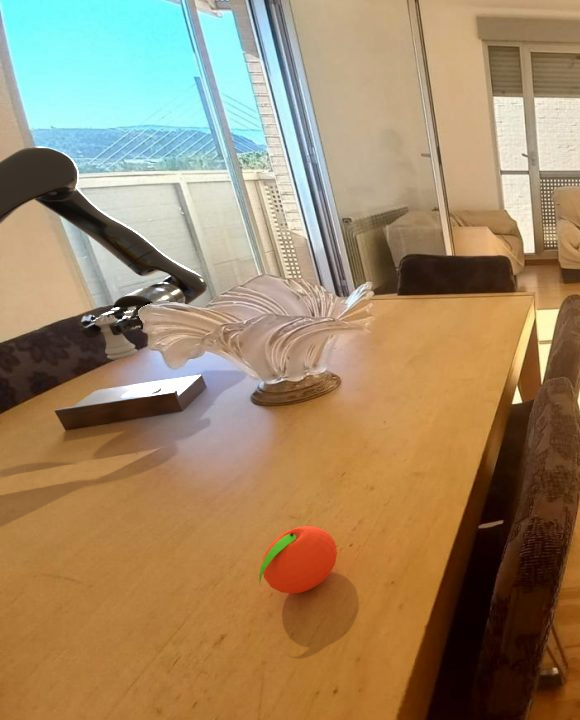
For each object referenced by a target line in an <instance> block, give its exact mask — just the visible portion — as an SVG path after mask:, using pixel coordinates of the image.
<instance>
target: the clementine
mask: <svg viewBox="0 0 580 720" xmlns="http://www.w3.org/2000/svg"><path fill="white" fill-rule="evenodd" d="M337 555H338V550H337V544H336V541H335V539H334V538H333V536H332V535H331V534H330V533H328V532H327V531H326V530H325V529H323V528H320V527H317V526H312V525H306V526H299V527H295V528H292V529H290V530H287V531H285V532H283V533H281V534H280V535H279V536H278V537H277V538H276V539H275V540H273V541H272V542H271V543H270V545H269V546H268V547H267V549H266V551H265V553H264V556H263V559H262V563H261V566H260V570H259V575H258V581H259V582H258V583H259V585H258V586H260V585H261V581H262V578H264V579H265V581H266V582H267V584H268V585H269V586H270V588H272V589H274V590H275V591H277V592H280V593H284V594H293V595H295V594H301V593H303V592H307V591H310V590H311V589H314V588H315V587H317V586H319V585H320V584H321V583H323V582H324V581H325V580H326V579H327V578H328V576H329V575H330V574H331V572H332V570H333V568H334V567H335V565H336V560H337V557H338V556H337ZM262 576H263V577H262Z"/></svg>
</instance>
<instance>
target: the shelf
mask: <svg viewBox="0 0 580 720" xmlns="http://www.w3.org/2000/svg"><path fill="white" fill-rule="evenodd" d="M207 387H208V386H207V384H206V382H205V379H204V377H203V375H202V374H198V375H196V374H195V375H190V376H184V377H177V378H169V379H163V380H155V381H147V382H142V383H136V384H135V383H134V384H128V385H121V386H114V387H108V388H107V387H106V388H101V389H96V390H94V391H92V392H91V393H89V394H88V395H87V396H85V397H84V398H82V399H81V400H80V401H77V402H76V403H75V404H74V405H71V406H65V407H58V408H56V409H54V413H55V415H56V416H57V418H58V420H59V422H60V424H61V426H62V427H63V429H64V431H69V430H75V429H81V428H87V427H94V426H99V425H107V424H112V423H119V422H125V421H130V420H136V419H143V418H148V417H155V416H161V415H167V414H174V413H179V412H183V411H184V410H185V409H186V408H187V407H188V406H190V404H191V403H192V402H193V401H194V400H195V399H196V398H197V397H198V396H199V395H200V394H201V393H202V392H203V391H204V390H205V389H206V388H207Z"/></svg>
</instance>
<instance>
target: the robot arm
mask: <svg viewBox="0 0 580 720" xmlns="http://www.w3.org/2000/svg"><path fill="white" fill-rule="evenodd" d="M79 174H80V173H79V170H78V167H77V164H76V163H75V161H74V160H73V159H72V157H70V156H69V155H67V154H65V153H64V152H61V151H59V150H57V149H55V148H51V147H45V146H29V147H24V148H22V149H19V150H17V151H15V152H13V153H12V154H10V155H9V156H7V157H5V158H4V159H3V160H1V161H0V225H1V224H2V223H3V222H4V221H5V220H6V219H7V218H9V216H11V215H12V214H13V213H14V212H15V211H16V210H18V209H19V208H21V207H22V206H24V205H26V204H28V203H29V202H31V201H33V200H34V201H36V202H37V203H38V204H40V205H42V206H44V207H45V208H47V209H49V210H50V211H52V212H53V213H55V214H57V215H58V216H60V217H61V218H63V219H64V220H66V221H67V222H68V223H70V224H71V225H73V226H74V227H76V228H78V229H79V230H80V231H82V232H83V233H84V234H86V235H87V236H89V237H90V238H91V239H93V240H94V241H96V243H98V244H99V245H100V246H101V247H103V248H104V249H105V250H106V251H108V252H109V253H110V254H111V255H113V256H114V257H115V258H116V259H117V260H119V261H120V262H121V263H122V264H124V265H125V266H126V267H127V268H129V269H130V270H131V271H132V272H133V273H135V274H136V275H138V276H140V277H148V276H151V275H154V274H156V273H158V272H163V273H166V274H168V275H169V276H167V277H166V278H165V279H163V280H162V281H160V282H158V283H154V284H151V285H149V286H146V287H143V288H139V289H137V290H134V291H132V292H130V293H127V294H126V295H124V296H123V295H122V296H121V297H119V298H118V299H116V301H115V302H114V304H113V306H112V309H110V310H109V311H107V312H104V313H102V314H99V315H98V317H101V318H102V319H103V318H104V317H103V316H107V317H109V315H114V317H115V318H116V319H118V321H116V322H114V323H112V324H110V325H109V327H110V329H111V331H112V333H113V335H121V334H124V333H126V332H127V331H134V330H140V331H141V330H142V331H143V330H144V329H143V325H142V321H141V320H140V318H139V316H138V310H139V309H140V308H141V307H143V306H145V305H147V304H150V303H153V302H158V301H169V302H178V303H185V304H188V305H190V304H191V303H193V301H195V300H196V299H198V298H199V297H201V296H202V295H204V294H205V293H206V292H207V291H208V284H207V282H206V280H205V279H204V277H202V276H201V275H200V274H198V273H197V272H195V271H194V270H191V269H190V268H188V267H186V266H184V265H182V264H180V263H178V262H176V261H175V260H173V259H171V258H170V257H168V256H167V255H165V254H164V253H163V252H161V251H160V250H159V249H158V248H157V247H155V246H154V245H153V244H152V243H151V242H149V240H147V239H146V238H145V237H144V236H143V235H141V234H140V233H138V231H136V230H134V229H133V228H131V227H130V226H127V225H126V224H124V223H122V222H120V221H119V220H117V219H115V218H113V217H112V216H109V214H107V213H105V212H103V211H102V210H100V209H99V208H98V207H97V206H96V205H94V204H93V203H92V202H91V201H90V200H89V199H88V198H87V197H86V196H85V195H84V193H82V192H81V190H79V189H78V187H77V185H78V182H79V176H80V175H79ZM96 318H97V317H95V315H92V314H85V315H84V316H82V318H81V320H80V324H81V325H82V328H81V332H82V333H83V335H84V338H86V339H95V338H97V337H98V336H100V335H102V334H103V333H102V332H100V331H101V328H100V327H99V326H97V325H95V323H96V320H95V319H96Z"/></svg>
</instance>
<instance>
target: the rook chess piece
mask: <svg viewBox="0 0 580 720" xmlns="http://www.w3.org/2000/svg"><path fill="white" fill-rule="evenodd" d="M103 317H104V318H103V319H102V318H101V317H99V316H98V317H95V318H96V319H95V320H96V323H95V325H97V326H99V327H100V328H101V331H100V332H102V334H103V337H104V340H105V344H106V345H105V350H104V353H105V354H106V355H107V356H106V358H107V359H109V360H111V361H115V360H123V359H126V358H129V357H130V358H131V357H133V356H135V355H137V354H138V349H136V345H135V344H134V343H132V342H131V341H129V340H128V339H127V338H126V336H125V335H124V333H122V334H121V335H113V333H112V331H111V329H110V327H109V325H110V324H112V323H114V322H116V321H118V319H116V318H115V317H114V315H109V317H107V316H103Z"/></svg>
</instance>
